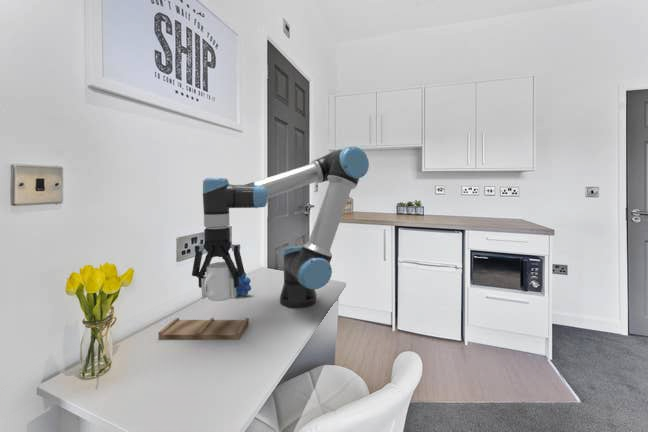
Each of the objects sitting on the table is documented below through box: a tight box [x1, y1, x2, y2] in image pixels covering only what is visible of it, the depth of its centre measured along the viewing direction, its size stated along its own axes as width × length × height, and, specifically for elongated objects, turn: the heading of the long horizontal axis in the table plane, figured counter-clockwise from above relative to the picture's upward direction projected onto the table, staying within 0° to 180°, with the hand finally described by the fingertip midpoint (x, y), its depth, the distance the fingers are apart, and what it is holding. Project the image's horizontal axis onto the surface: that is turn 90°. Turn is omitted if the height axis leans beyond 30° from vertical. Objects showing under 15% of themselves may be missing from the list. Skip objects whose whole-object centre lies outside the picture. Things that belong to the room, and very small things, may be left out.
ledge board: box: [158, 317, 250, 340], centre depth 90 cm, size 25×10×2 cm, turn 89°
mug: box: [204, 261, 233, 302], centre depth 89 cm, size 9×12×11 cm
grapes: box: [236, 267, 252, 297], centre depth 120 cm, size 12×7×12 cm, turn 70°
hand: (219, 297), depth 89 cm, fingers closed on mug, 9 cm apart
